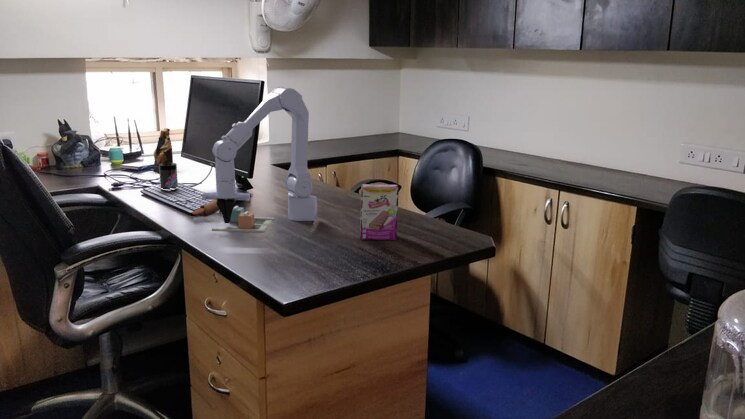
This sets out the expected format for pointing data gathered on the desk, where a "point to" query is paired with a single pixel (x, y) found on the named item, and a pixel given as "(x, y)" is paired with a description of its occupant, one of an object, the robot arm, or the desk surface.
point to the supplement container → (168, 175)
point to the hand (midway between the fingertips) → (227, 222)
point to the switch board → (250, 229)
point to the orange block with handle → (246, 220)
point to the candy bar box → (378, 212)
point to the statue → (163, 150)
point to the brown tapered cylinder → (207, 209)
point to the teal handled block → (236, 213)
